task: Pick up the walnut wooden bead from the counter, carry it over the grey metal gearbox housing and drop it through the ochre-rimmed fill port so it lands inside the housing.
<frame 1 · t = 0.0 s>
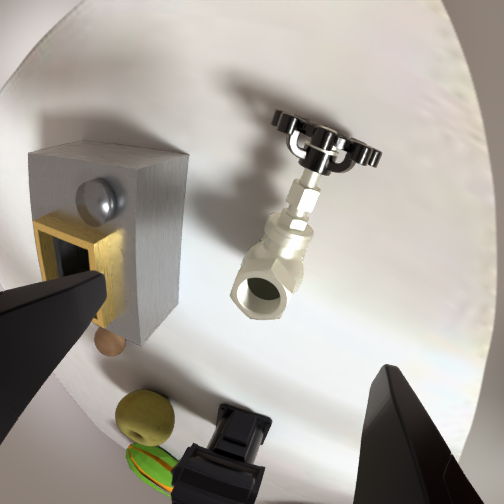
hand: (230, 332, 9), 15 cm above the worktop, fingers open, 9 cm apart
bead: (119, 331, 33), on the worktop
corn: (177, 462, 47), on the worktop
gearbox: (125, 221, 26), on the worktop
valve: (301, 205, 22), on the worktop
apple: (159, 397, 37), on the worktop
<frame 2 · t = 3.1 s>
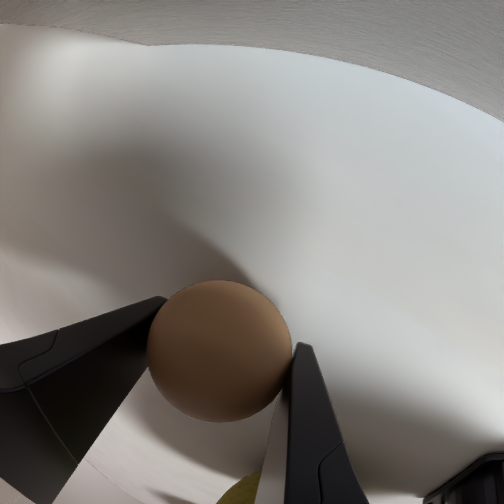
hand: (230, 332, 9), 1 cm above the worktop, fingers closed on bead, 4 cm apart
bead: (241, 312, 9), on the worktop, touching gripper
apple: (301, 475, 13), on the worktop
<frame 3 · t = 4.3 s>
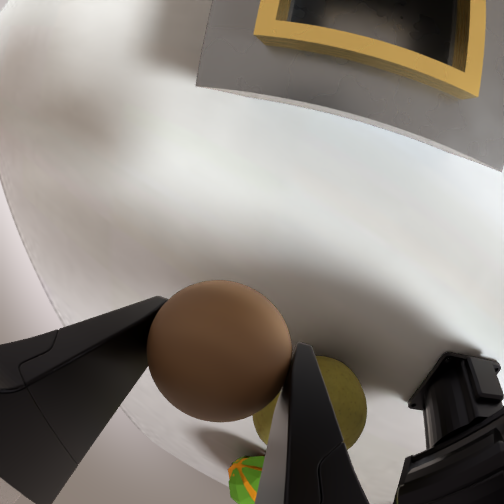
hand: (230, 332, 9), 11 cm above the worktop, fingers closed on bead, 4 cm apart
bead: (241, 312, 9), point 10 cm above the worktop, touching gripper
corn: (285, 476, 32), on the worktop
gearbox: (371, 10, 12), on the worktop
apple: (317, 369, 23), on the worktop
when the fingers open (9 cm above the worktop, at t = 5.6 s): bead drops 8 cm, resting on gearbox.
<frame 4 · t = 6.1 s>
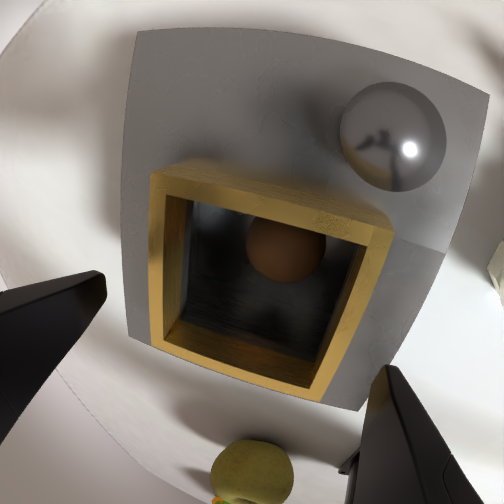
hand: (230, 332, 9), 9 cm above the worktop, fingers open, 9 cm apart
bead: (285, 227, 16), point 1 cm above the worktop, tilted 12°, touching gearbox
corn: (259, 503, 36), on the worktop
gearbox: (294, 198, 16), on the worktop
apple: (263, 444, 27), on the worktop
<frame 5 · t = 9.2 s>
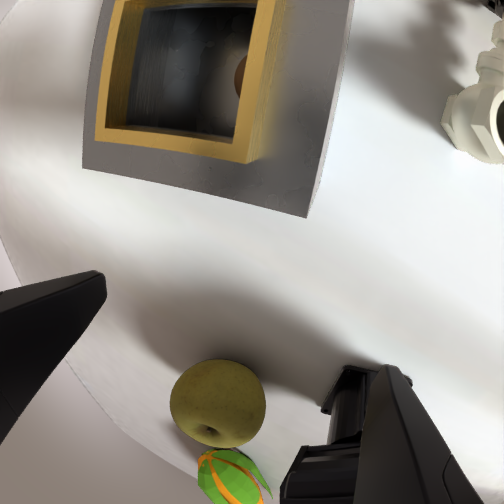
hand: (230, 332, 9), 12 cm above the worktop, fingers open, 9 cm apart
corn: (247, 470, 36), on the worktop
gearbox: (243, 58, 16), on the worktop
valve: (479, 70, 12), on the worktop
apple: (233, 371, 27), on the worktop
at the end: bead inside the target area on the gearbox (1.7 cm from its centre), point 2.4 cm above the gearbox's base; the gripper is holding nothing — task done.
